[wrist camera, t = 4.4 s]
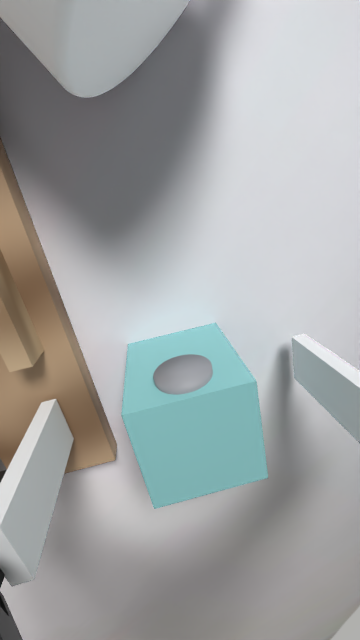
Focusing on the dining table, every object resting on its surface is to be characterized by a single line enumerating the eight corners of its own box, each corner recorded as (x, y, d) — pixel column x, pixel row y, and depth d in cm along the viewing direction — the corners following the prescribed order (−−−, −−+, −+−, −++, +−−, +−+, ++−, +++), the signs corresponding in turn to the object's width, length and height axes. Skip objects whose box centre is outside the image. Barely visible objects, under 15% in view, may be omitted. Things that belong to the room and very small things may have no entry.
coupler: (126, 338, 16) (119, 408, 10) (214, 317, 16) (255, 374, 10) (150, 418, 18) (155, 513, 12) (228, 398, 18) (268, 482, 12)
